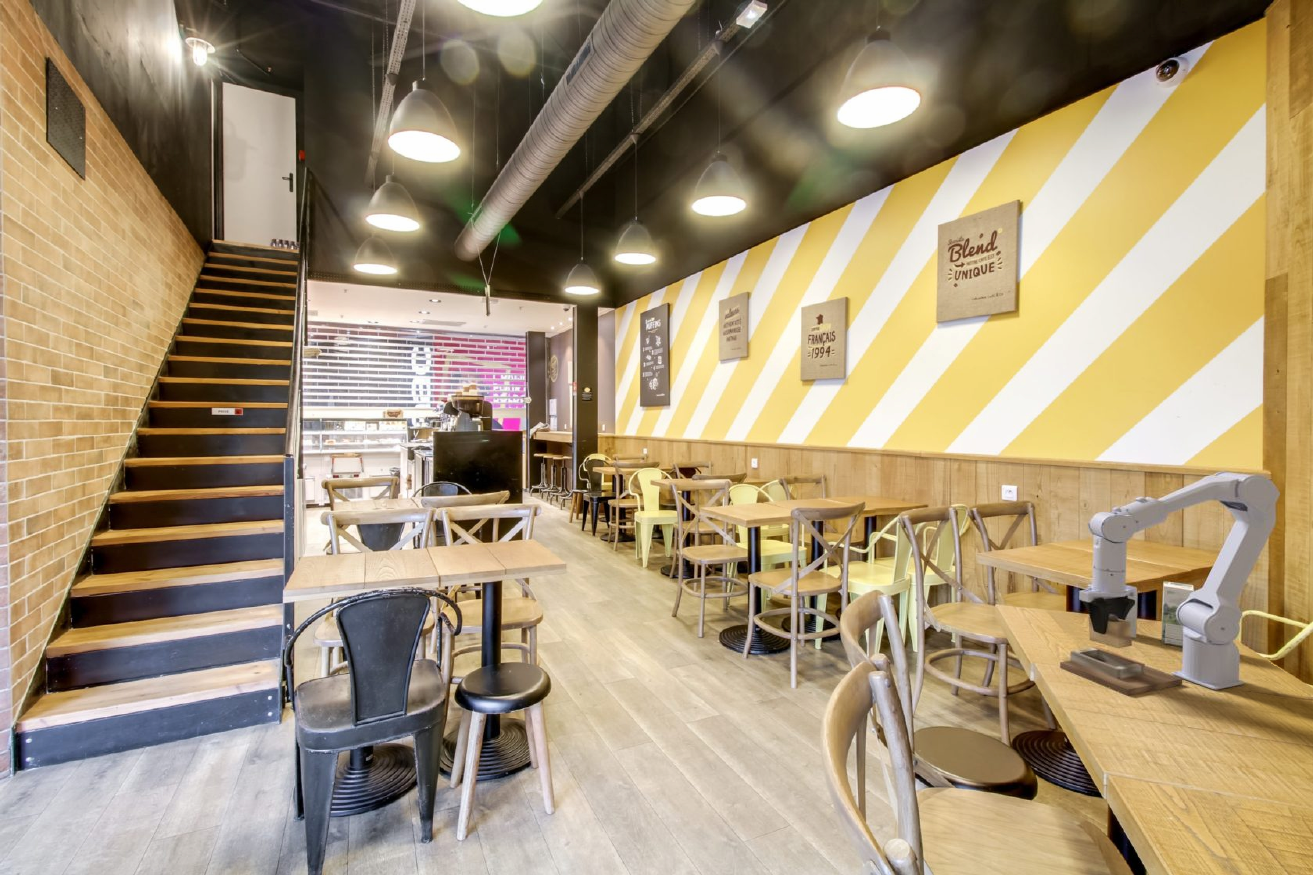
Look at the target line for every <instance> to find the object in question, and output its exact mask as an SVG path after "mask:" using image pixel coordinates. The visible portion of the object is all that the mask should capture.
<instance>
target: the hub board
mask: <svg viewBox="0 0 1313 875" xmlns="http://www.w3.org/2000/svg"><path fill="white" fill-rule="evenodd" d="M1059 663H1060V664H1059V668H1061V669H1063V670H1065V671H1067V672H1070V673H1073V674H1075V675H1077V676H1078V677H1082V678H1084V679H1087V680H1089V681H1091V680H1092V681H1091V682H1094V683H1096V684H1098V683H1099V685H1101V684H1102V685H1101V686H1103V685H1104V686H1103V687H1106V688H1108V687H1110V688H1111V690H1113V691H1116V692H1118V691H1119V692H1118V693H1120V694H1123V695H1126V696H1133V695H1138V694H1142V693H1147V691H1148V692H1152V691H1158V690H1162V688H1163V689H1166V688H1165V687H1168V688H1172V687H1177V686H1176V685H1178V686H1181V685H1180V684H1182V685H1183V678H1180V677H1178V676H1175V675H1172V674H1170V673H1167V672H1164V671H1162V670H1159V669H1156V668H1153V667H1151V666H1148V665H1146V664H1145V663H1144V662H1141V661H1138V660H1135V659H1132V658H1129V657H1127V656H1124V655H1121V654H1118V653H1115V652H1113V651H1110V650H1107V649H1104V648H1101V647H1099V646H1094V647H1091V648H1085V649H1078V650H1073V651H1070V660H1066V661H1061V662H1059ZM1110 688H1109V689H1110Z"/></svg>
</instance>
